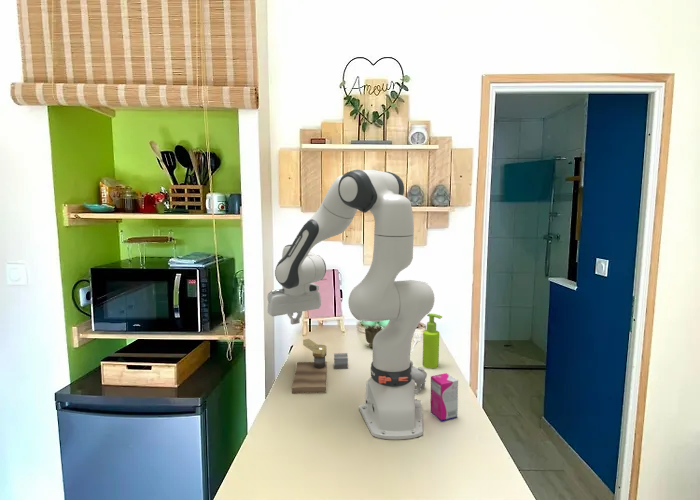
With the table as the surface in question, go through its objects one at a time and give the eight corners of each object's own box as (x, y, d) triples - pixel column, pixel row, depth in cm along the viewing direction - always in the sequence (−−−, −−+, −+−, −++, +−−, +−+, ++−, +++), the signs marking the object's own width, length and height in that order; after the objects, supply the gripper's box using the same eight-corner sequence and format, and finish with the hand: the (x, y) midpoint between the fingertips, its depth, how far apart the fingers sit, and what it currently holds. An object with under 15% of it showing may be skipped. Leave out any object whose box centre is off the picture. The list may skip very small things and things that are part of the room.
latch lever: (329, 355, 145) (328, 347, 144) (316, 358, 142) (316, 350, 141) (311, 344, 156) (311, 336, 155) (300, 346, 153) (300, 339, 153)
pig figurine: (394, 378, 141) (395, 349, 139) (428, 388, 133) (429, 357, 132) (387, 384, 137) (387, 354, 135) (421, 394, 129) (422, 363, 128)
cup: (362, 349, 167) (362, 330, 166) (367, 342, 174) (367, 325, 173) (380, 351, 165) (380, 332, 164) (383, 344, 172) (384, 326, 171)
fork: (406, 354, 164) (406, 350, 164) (414, 337, 183) (414, 333, 182) (414, 355, 163) (414, 351, 163) (421, 337, 182) (422, 333, 181)
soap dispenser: (436, 370, 147) (438, 318, 144) (419, 366, 151) (421, 314, 148) (443, 365, 151) (445, 314, 149) (426, 361, 155) (428, 311, 153)
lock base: (350, 392, 131) (349, 374, 130) (292, 393, 130) (291, 375, 129) (347, 363, 154) (347, 348, 153) (298, 363, 153) (297, 348, 152)
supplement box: (445, 408, 121) (447, 372, 119) (457, 418, 115) (459, 380, 114) (429, 412, 119) (430, 375, 117) (440, 422, 113) (442, 384, 112)
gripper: (270, 292, 139) (271, 331, 141) (322, 285, 150) (322, 321, 152) (264, 289, 144) (265, 326, 146) (314, 282, 155) (315, 316, 157)
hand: (295, 323), depth 149 cm, fingers closed
